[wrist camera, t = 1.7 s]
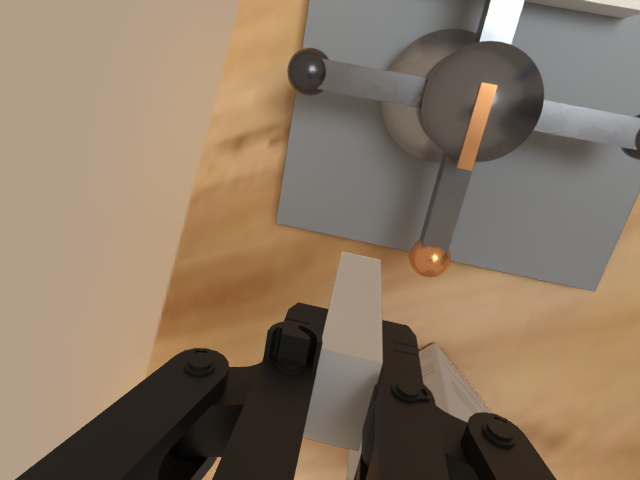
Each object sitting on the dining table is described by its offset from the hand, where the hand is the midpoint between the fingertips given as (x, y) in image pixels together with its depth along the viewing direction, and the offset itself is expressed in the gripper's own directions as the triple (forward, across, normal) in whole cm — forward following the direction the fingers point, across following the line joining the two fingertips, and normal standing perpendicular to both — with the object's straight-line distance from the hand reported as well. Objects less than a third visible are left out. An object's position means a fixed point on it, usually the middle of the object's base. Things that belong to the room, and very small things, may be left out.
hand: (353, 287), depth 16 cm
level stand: (+17, +6, +6) cm, 19 cm away
